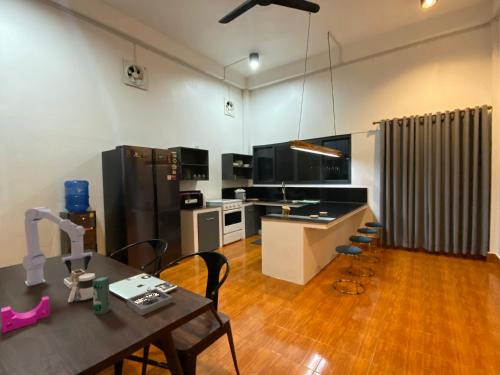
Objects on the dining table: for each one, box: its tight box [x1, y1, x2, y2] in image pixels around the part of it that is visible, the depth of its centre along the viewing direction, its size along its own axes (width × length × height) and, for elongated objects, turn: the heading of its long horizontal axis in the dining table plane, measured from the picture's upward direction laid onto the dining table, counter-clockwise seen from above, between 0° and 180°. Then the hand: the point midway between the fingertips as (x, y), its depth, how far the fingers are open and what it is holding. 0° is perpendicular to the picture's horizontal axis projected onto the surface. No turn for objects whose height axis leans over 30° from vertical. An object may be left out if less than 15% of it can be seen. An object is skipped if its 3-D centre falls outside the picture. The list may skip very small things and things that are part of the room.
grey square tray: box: [126, 287, 173, 317], centre depth 120 cm, size 15×15×3 cm
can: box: [92, 275, 111, 316], centre depth 114 cm, size 6×6×15 cm
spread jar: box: [67, 272, 96, 303], centre depth 125 cm, size 12×11×12 cm
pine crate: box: [70, 268, 86, 283], centre depth 145 cm, size 7×5×6 cm
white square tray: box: [63, 272, 87, 290], centre depth 145 cm, size 11×11×3 cm
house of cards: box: [142, 286, 158, 305], centre depth 119 cm, size 9×9×8 cm
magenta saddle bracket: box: [0, 295, 51, 334], centre depth 106 cm, size 15×6×8 cm, turn 136°
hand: (78, 271), depth 145 cm, fingers open, 7 cm apart
